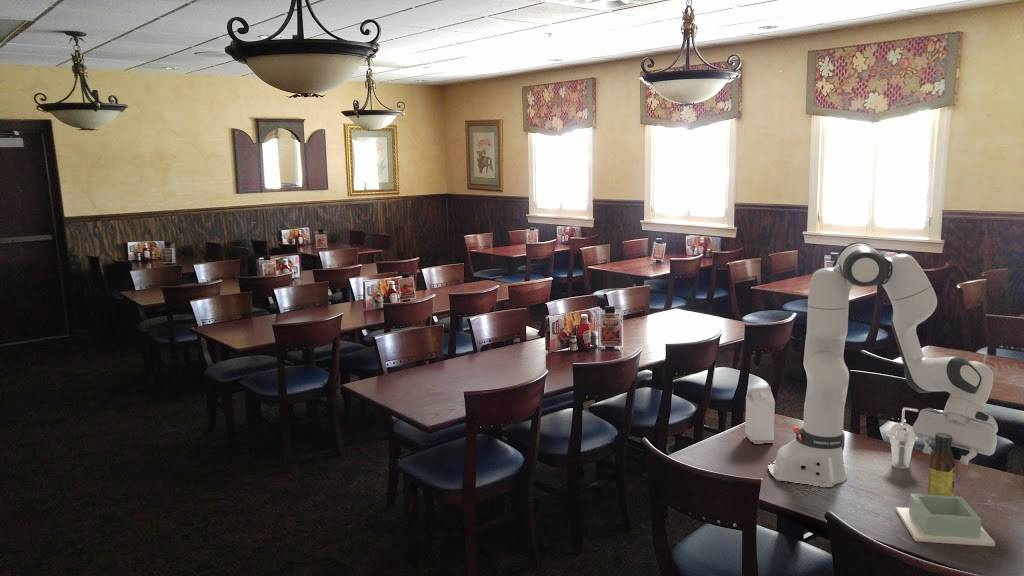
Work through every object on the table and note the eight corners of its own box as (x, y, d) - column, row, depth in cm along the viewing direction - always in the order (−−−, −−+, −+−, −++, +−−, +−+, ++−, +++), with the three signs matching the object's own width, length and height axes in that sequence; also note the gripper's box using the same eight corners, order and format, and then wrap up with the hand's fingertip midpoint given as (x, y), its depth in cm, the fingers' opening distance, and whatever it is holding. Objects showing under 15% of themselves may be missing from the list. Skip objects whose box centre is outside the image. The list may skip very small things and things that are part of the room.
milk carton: (745, 437, 251) (746, 385, 248) (764, 435, 252) (766, 383, 248) (753, 445, 244) (754, 391, 241) (773, 443, 245) (775, 390, 241)
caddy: (915, 541, 182) (916, 519, 181) (895, 510, 198) (896, 490, 197) (994, 546, 179) (996, 523, 177) (968, 514, 194) (970, 493, 193)
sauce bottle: (956, 509, 197) (962, 440, 193) (931, 508, 198) (936, 439, 195) (947, 498, 203) (952, 431, 200) (923, 497, 205) (928, 430, 201)
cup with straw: (908, 460, 228) (912, 399, 225) (921, 472, 220) (926, 409, 216) (880, 459, 229) (884, 399, 226) (892, 472, 220) (896, 409, 217)
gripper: (919, 400, 209) (902, 441, 205) (1000, 419, 194) (983, 464, 189) (925, 411, 213) (908, 452, 209) (1004, 430, 197) (988, 474, 193)
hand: (944, 458), depth 199 cm, fingers open, 8 cm apart
